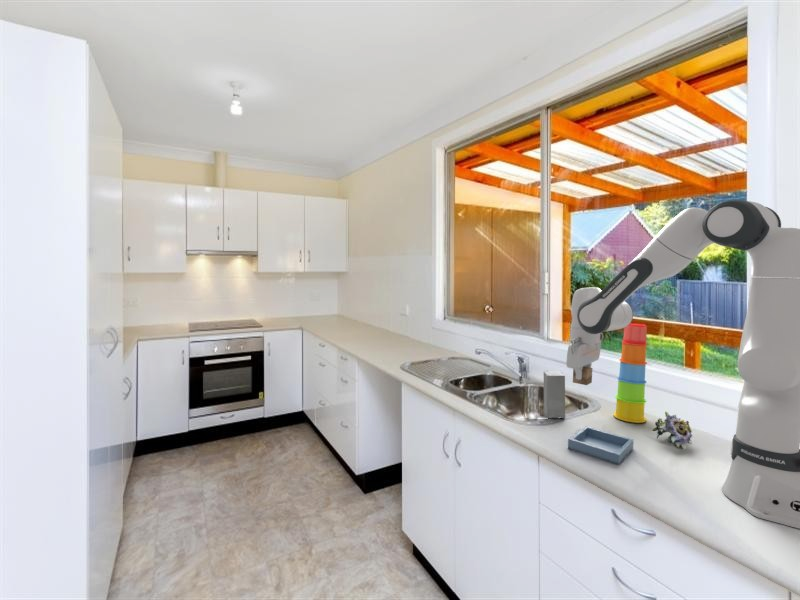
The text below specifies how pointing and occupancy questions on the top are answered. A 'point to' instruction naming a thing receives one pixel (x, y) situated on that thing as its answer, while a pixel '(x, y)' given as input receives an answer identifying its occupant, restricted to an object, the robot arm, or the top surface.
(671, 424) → the passion flower
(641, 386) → the stacking cups
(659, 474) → the top surface
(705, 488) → the top surface
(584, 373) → the walnut block
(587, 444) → the sorting tray
